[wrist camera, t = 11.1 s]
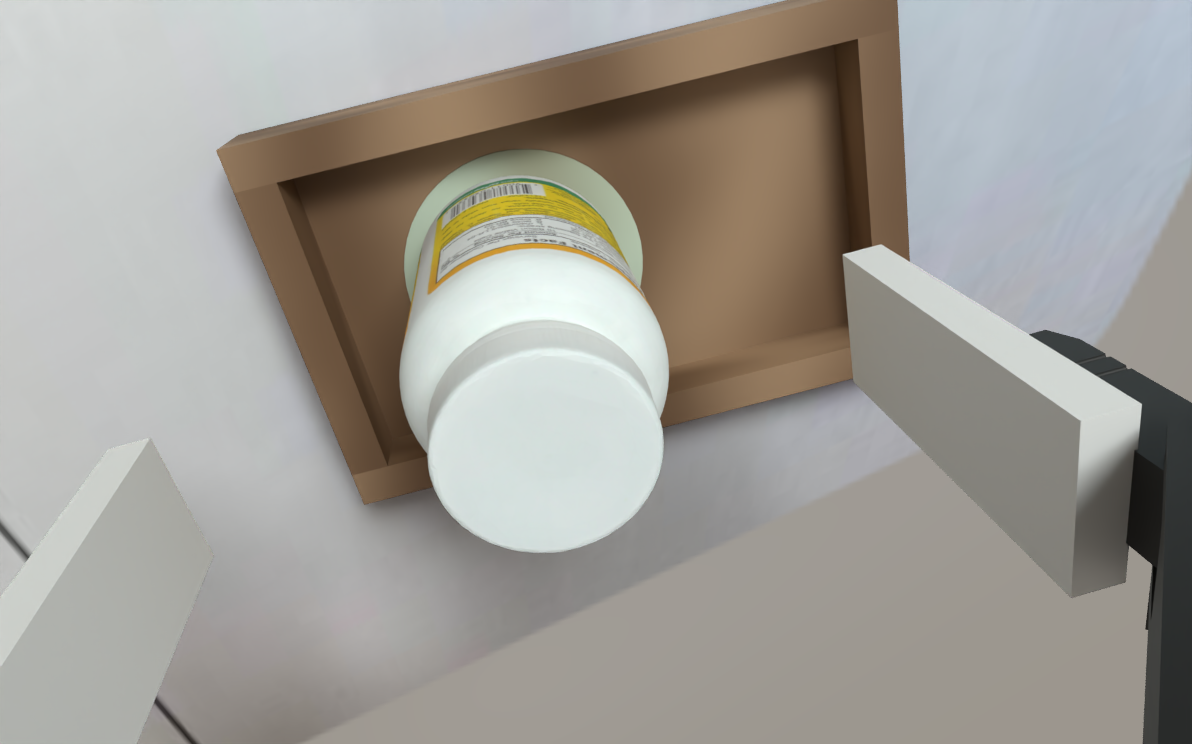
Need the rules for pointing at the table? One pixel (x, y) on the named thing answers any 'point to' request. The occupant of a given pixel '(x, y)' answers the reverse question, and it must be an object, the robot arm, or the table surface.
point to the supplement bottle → (533, 368)
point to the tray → (604, 204)
